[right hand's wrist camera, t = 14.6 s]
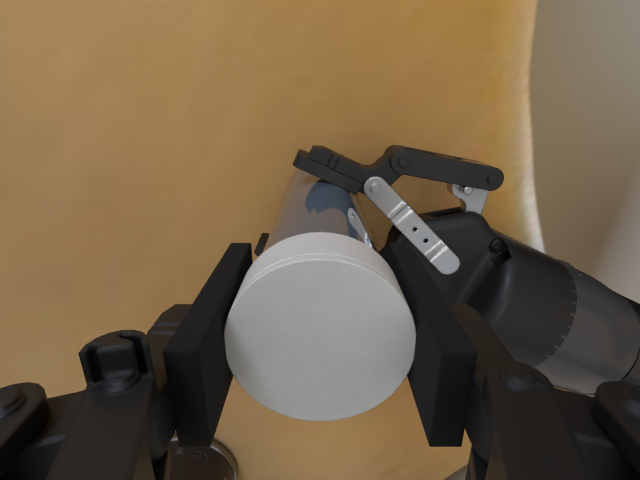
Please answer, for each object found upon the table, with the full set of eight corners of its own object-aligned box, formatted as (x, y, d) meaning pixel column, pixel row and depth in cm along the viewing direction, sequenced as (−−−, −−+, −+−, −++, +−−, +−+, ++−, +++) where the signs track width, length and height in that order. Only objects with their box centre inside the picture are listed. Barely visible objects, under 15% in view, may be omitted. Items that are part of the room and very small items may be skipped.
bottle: (277, 209, 28) (215, 364, 11) (303, 150, 26) (275, 228, 10) (335, 235, 28) (355, 416, 12) (364, 178, 27) (433, 297, 10)
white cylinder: (383, 380, 13) (394, 430, 11) (234, 364, 13) (218, 411, 11) (417, 242, 11) (438, 273, 9) (245, 220, 11) (228, 246, 9)
